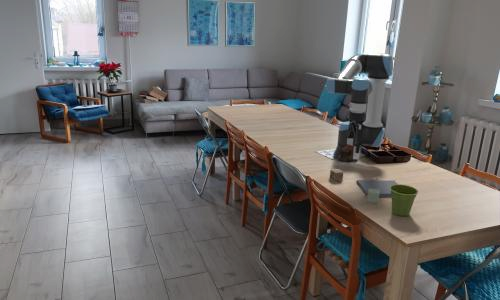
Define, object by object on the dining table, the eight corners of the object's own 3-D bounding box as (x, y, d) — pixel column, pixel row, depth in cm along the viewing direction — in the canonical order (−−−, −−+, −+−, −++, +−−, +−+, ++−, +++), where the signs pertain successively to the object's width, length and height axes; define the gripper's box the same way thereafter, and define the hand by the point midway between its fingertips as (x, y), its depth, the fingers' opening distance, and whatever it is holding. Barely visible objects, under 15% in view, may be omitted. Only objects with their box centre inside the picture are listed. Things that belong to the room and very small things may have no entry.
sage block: (367, 197, 193) (368, 188, 192) (378, 199, 192) (379, 189, 190) (367, 201, 188) (368, 192, 187) (378, 203, 187) (379, 193, 186)
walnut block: (329, 178, 217) (330, 169, 215) (337, 177, 218) (338, 168, 217) (334, 181, 212) (335, 172, 211) (342, 180, 214) (343, 172, 212)
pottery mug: (334, 157, 202) (342, 142, 202) (350, 165, 203) (358, 151, 203) (342, 158, 190) (350, 142, 190) (359, 167, 191) (367, 152, 191)
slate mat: (356, 182, 212) (356, 179, 212) (393, 183, 213) (394, 180, 212) (367, 196, 195) (367, 193, 194) (407, 197, 196) (408, 194, 195)
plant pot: (385, 205, 185) (389, 182, 182) (413, 209, 182) (417, 186, 179) (386, 216, 174) (390, 192, 171) (415, 220, 171) (419, 196, 168)
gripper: (343, 106, 202) (338, 147, 209) (356, 116, 179) (351, 162, 185) (358, 106, 202) (353, 147, 209) (373, 117, 179) (367, 163, 186)
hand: (352, 154), depth 197 cm, fingers closed on pottery mug, 12 cm apart
